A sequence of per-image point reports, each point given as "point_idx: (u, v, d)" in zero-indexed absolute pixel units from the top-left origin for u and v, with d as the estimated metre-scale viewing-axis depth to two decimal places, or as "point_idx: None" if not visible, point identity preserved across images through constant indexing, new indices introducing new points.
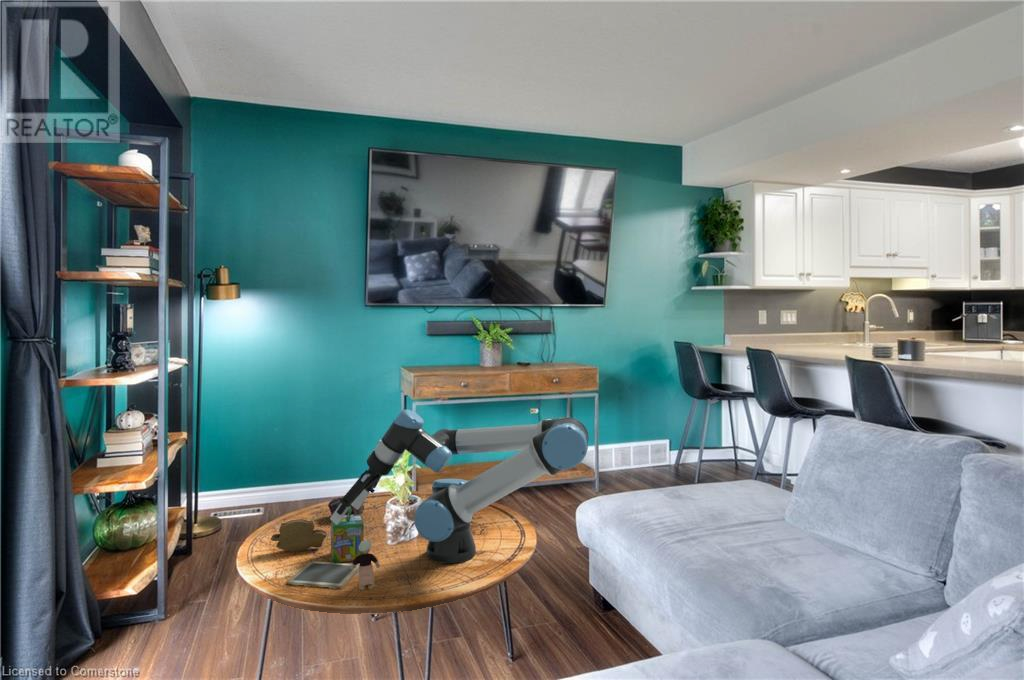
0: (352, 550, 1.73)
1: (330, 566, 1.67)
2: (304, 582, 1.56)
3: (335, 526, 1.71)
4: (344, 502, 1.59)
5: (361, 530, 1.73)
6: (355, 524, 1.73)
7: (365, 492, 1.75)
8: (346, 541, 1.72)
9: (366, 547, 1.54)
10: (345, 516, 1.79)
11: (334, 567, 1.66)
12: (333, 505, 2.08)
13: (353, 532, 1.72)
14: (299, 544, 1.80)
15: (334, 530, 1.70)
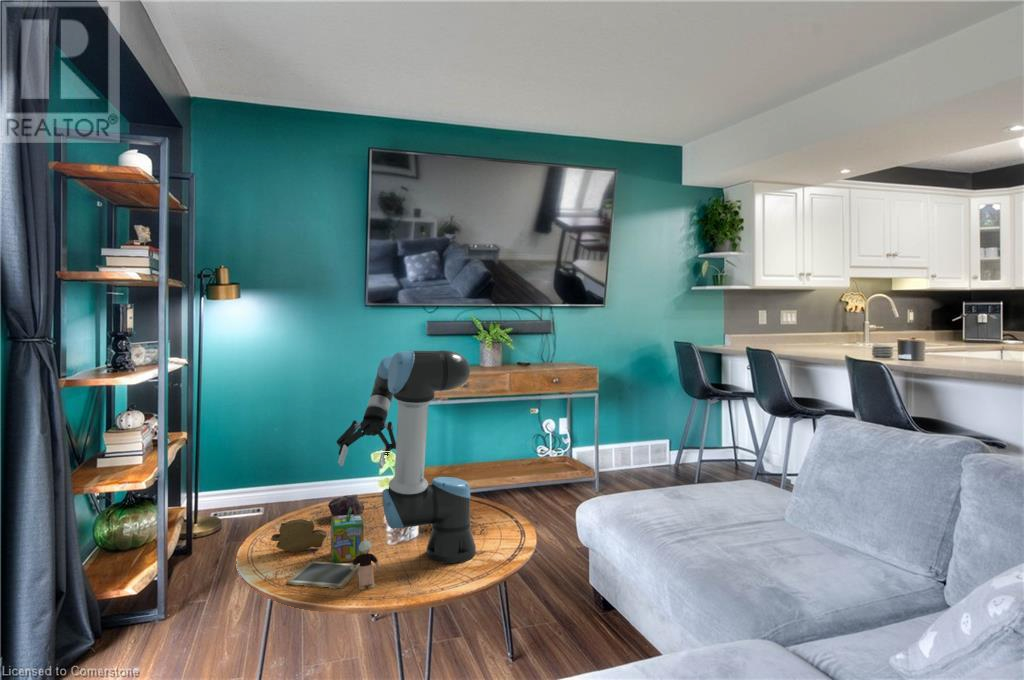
0: (352, 550, 1.73)
1: (330, 566, 1.67)
2: (304, 582, 1.56)
3: (335, 526, 1.71)
4: None
5: (361, 530, 1.73)
6: (355, 524, 1.73)
7: None
8: (345, 541, 1.72)
9: (366, 547, 1.54)
10: (345, 516, 1.79)
11: (334, 567, 1.66)
12: (333, 505, 2.08)
13: (353, 532, 1.72)
14: (299, 544, 1.80)
15: (334, 530, 1.70)
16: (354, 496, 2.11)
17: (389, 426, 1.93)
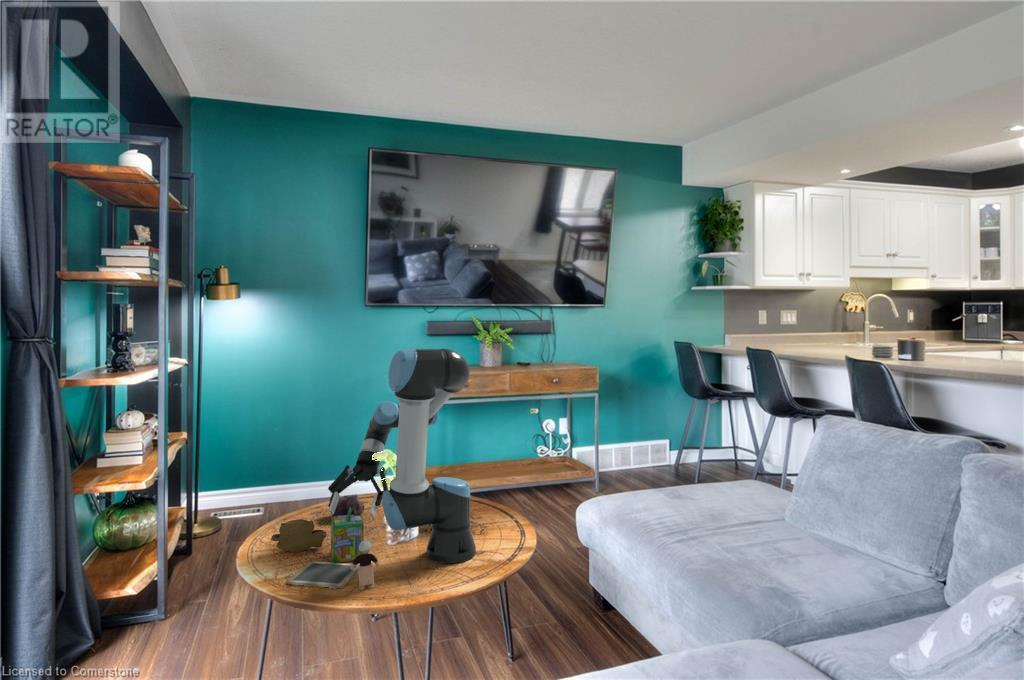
0: (352, 550, 1.73)
1: (330, 566, 1.67)
2: (304, 582, 1.56)
3: (335, 526, 1.71)
4: None
5: (361, 530, 1.73)
6: (355, 524, 1.73)
7: None
8: (346, 541, 1.72)
9: (366, 547, 1.54)
10: (345, 516, 1.79)
11: (334, 567, 1.66)
12: None
13: (353, 532, 1.72)
14: (299, 544, 1.80)
15: (334, 530, 1.70)
16: (354, 496, 2.11)
17: (382, 472, 1.89)
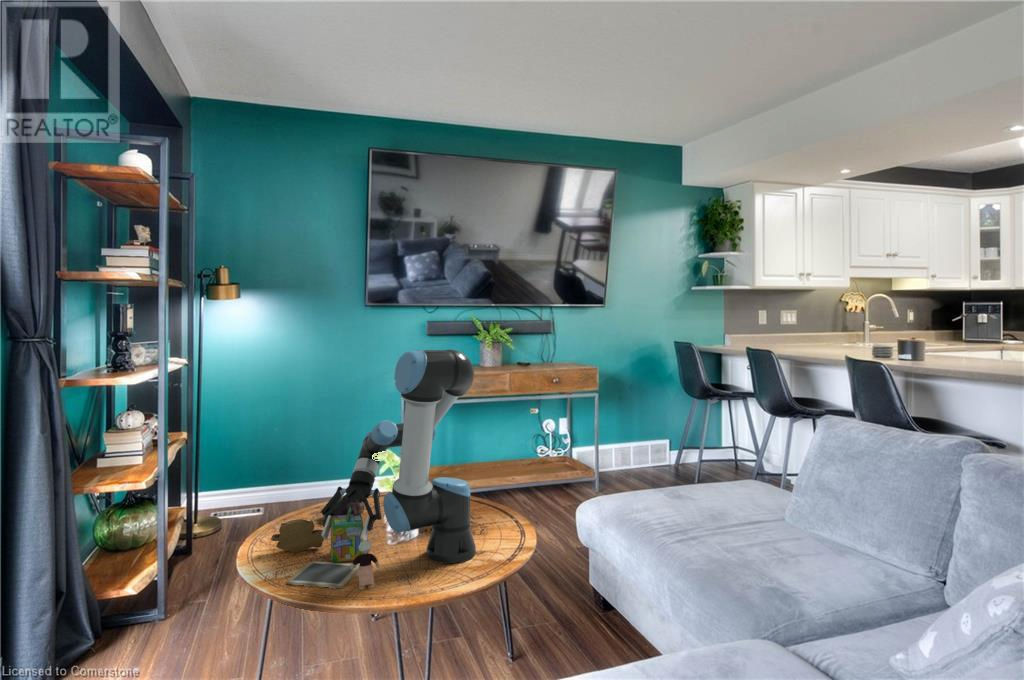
0: (352, 550, 1.72)
1: (330, 566, 1.67)
2: (304, 582, 1.56)
3: (335, 526, 1.71)
4: None
5: (361, 530, 1.73)
6: (355, 523, 1.73)
7: None
8: (345, 541, 1.72)
9: (366, 547, 1.54)
10: (345, 516, 1.78)
11: (334, 567, 1.66)
12: None
13: (353, 532, 1.72)
14: (298, 544, 1.80)
15: (334, 530, 1.70)
16: None
17: (375, 493, 1.82)
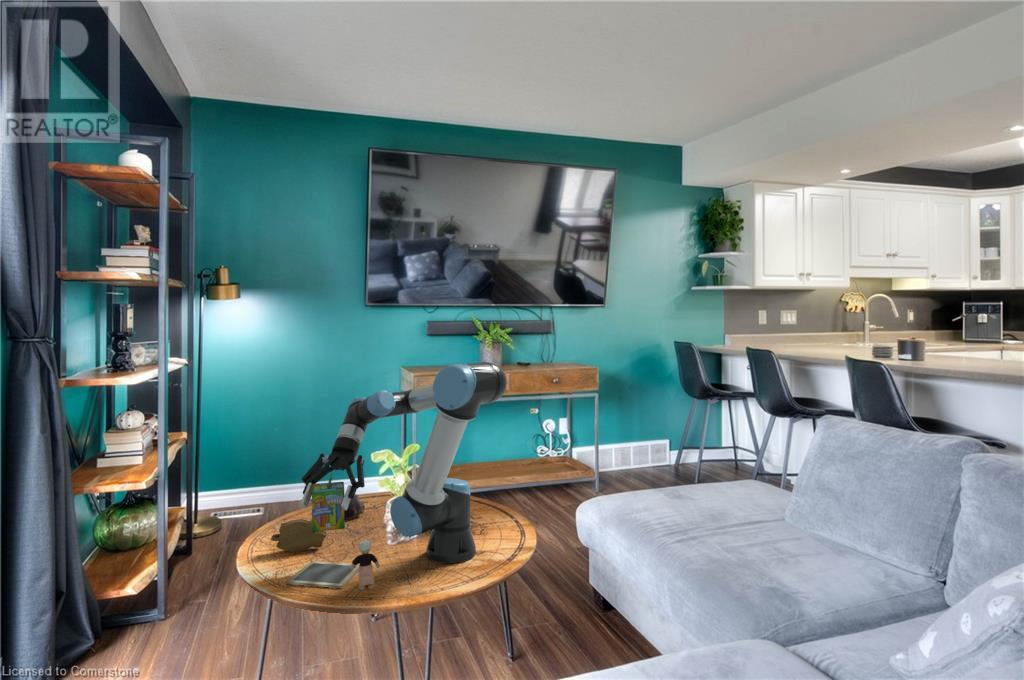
0: (333, 519, 1.63)
1: (330, 566, 1.67)
2: (304, 582, 1.56)
3: (314, 493, 1.61)
4: None
5: (342, 498, 1.63)
6: (335, 491, 1.63)
7: None
8: (325, 509, 1.62)
9: (366, 547, 1.54)
10: (326, 483, 1.69)
11: (334, 567, 1.66)
12: None
13: (333, 499, 1.63)
14: (298, 544, 1.80)
15: (313, 497, 1.61)
16: (354, 496, 2.11)
17: (358, 460, 1.72)
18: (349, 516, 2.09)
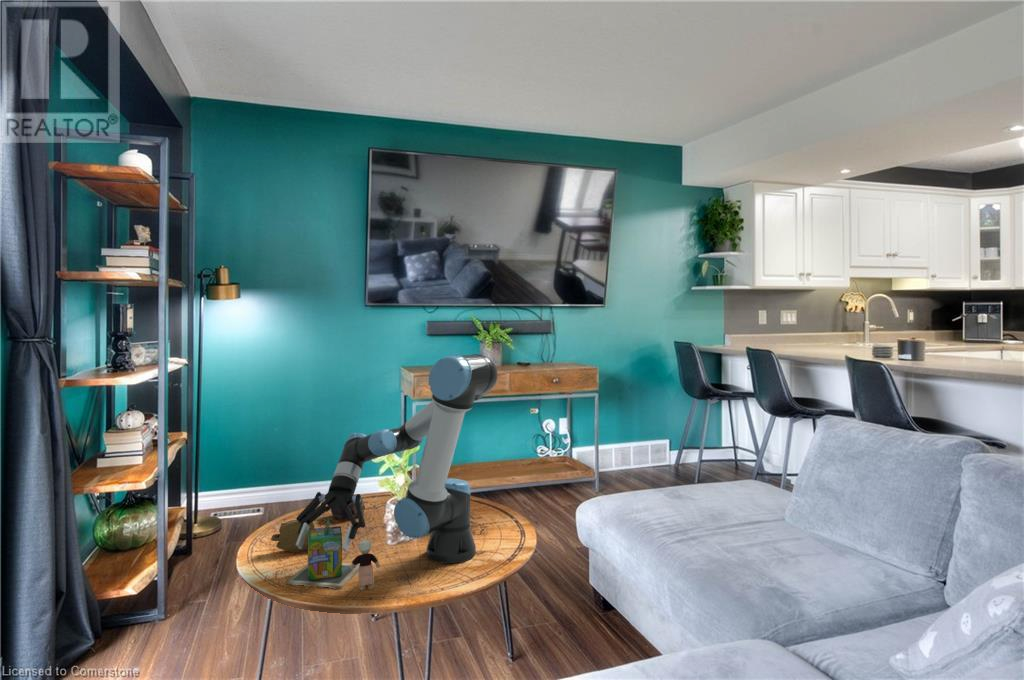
0: (330, 567, 1.59)
1: None
2: (304, 582, 1.56)
3: (311, 540, 1.57)
4: None
5: (340, 545, 1.59)
6: (333, 537, 1.59)
7: None
8: (322, 556, 1.58)
9: (366, 547, 1.54)
10: (323, 529, 1.65)
11: None
12: None
13: (331, 546, 1.59)
14: None
15: (309, 544, 1.57)
16: None
17: (357, 500, 1.68)
18: None
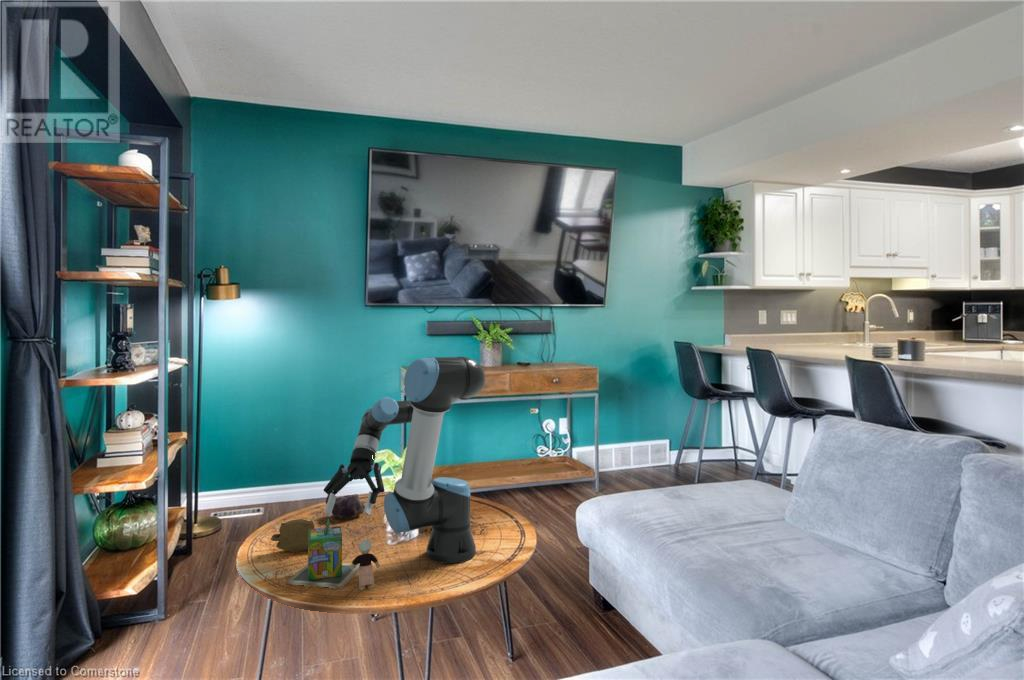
0: (330, 567, 1.59)
1: None
2: (304, 582, 1.56)
3: (311, 540, 1.57)
4: None
5: (340, 545, 1.59)
6: (333, 537, 1.59)
7: None
8: (322, 556, 1.58)
9: (366, 547, 1.54)
10: (323, 529, 1.65)
11: None
12: (334, 505, 2.08)
13: (331, 546, 1.59)
14: (298, 544, 1.80)
15: (309, 544, 1.57)
16: (355, 496, 2.11)
17: (375, 468, 1.81)
18: (350, 516, 2.10)
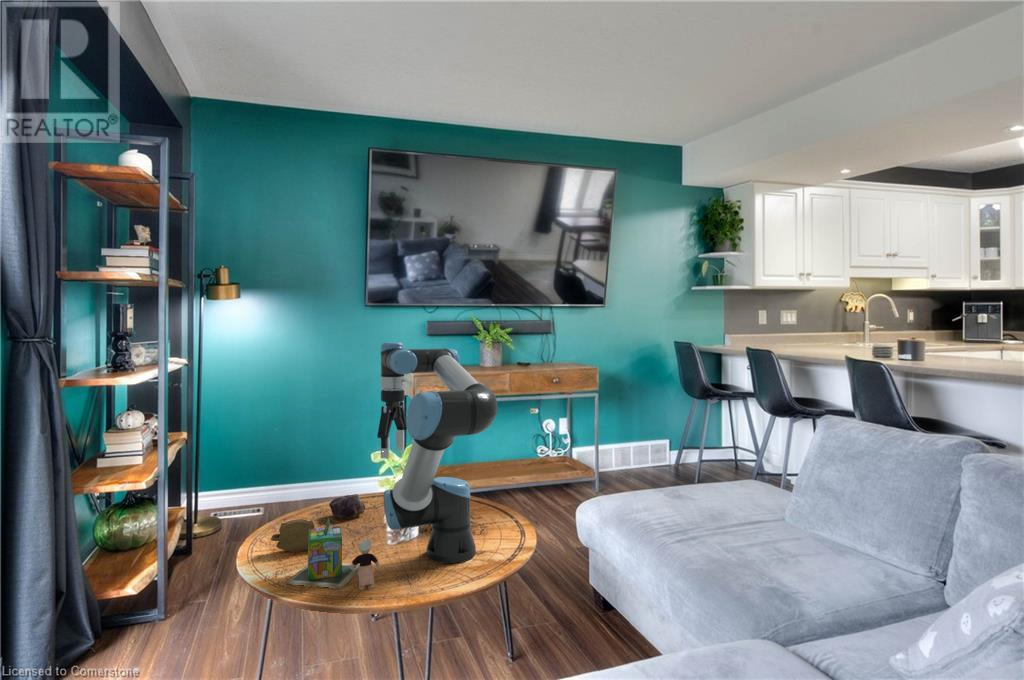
0: (330, 567, 1.59)
1: None
2: (304, 582, 1.56)
3: (311, 540, 1.57)
4: None
5: (340, 545, 1.59)
6: (333, 537, 1.59)
7: None
8: (322, 556, 1.58)
9: (366, 547, 1.54)
10: (323, 529, 1.65)
11: None
12: (334, 504, 2.08)
13: (331, 546, 1.59)
14: (298, 544, 1.80)
15: (309, 544, 1.57)
16: (355, 496, 2.11)
17: None
18: (350, 516, 2.10)
